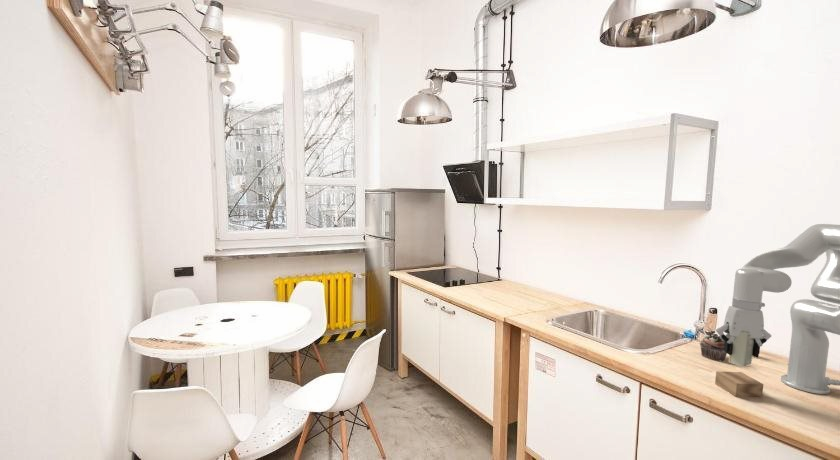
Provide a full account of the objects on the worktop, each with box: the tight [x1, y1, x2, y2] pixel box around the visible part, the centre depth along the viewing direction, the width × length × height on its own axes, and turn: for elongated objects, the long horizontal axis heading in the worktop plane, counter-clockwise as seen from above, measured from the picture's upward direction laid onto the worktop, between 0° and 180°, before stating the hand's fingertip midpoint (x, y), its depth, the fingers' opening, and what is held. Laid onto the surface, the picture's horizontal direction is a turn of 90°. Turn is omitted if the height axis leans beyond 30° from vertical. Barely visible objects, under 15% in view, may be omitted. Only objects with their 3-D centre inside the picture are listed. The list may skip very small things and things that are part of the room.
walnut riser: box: [714, 370, 764, 399], centre depth 133 cm, size 9×9×5 cm
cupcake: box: [699, 333, 728, 362], centre depth 161 cm, size 10×10×10 cm
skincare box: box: [728, 332, 754, 368], centre depth 132 cm, size 6×4×12 cm
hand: (740, 354), depth 132 cm, fingers closed on skincare box, 7 cm apart
